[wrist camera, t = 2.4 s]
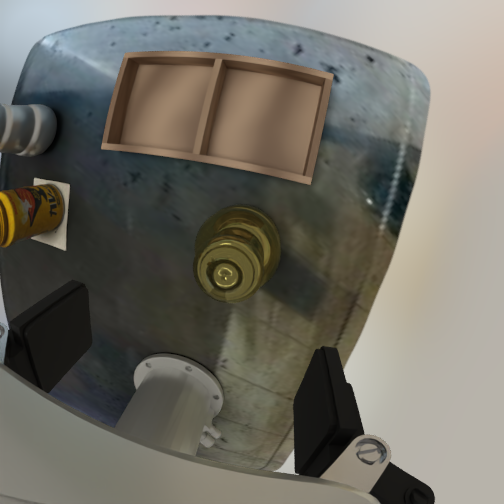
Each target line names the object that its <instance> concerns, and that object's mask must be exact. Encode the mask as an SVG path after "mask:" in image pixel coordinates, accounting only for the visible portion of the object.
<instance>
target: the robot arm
mask: <svg viewBox="0 0 504 504" xmlns="http://www.w3.org/2000/svg"><path fill="white" fill-rule="evenodd" d="M10 326H11V329H10V330H8V328H7V326H6V325H5V324H3V323H0V504H434V502H435V497H434V493H433V491H432V489H431V488H430V487H429V486H428V485H426V484H425V483H423V482H421V481H420V480H418V479H416V478H415V477H413V476H411V475H410V474H408V473H406V472H405V471H403V470H402V469H400V468H399V467H397V466H395V465H394V464H392V463H391V462H389V461H390V459H391V450H390V448H389V446H388V445H387V443H386V442H385V441H384V440H382V439H381V438H379V437H376V436H374V435H365V434H364V430H363V426H362V422H361V418H360V414H359V410H358V407H357V403H356V399H355V396H354V392H353V388H352V386H351V384H350V383H347V382H346V379H345V375H344V371H343V368H342V364H341V360H340V357H339V353H338V350H337V349H336V348H332V347H325V346H322V347H321V348H320V349H316V350H315V352H314V354H313V357H312V359H311V361H310V364H309V366H308V369H307V371H306V373H305V376H304V378H303V380H302V382H301V385H300V387H299V389H298V391H297V394H296V396H295V399H294V404H293V410H294V454H295V455H294V456H295V473H297V474H299V475H294V474H287V473H279V472H272V471H264V470H258V469H252V468H246V467H241V466H236V465H231V464H226V463H221V462H217V461H212V460H208V459H204V458H200V457H196V453H197V450H198V446H199V443H201V444H202V445H204V446H205V447H211V446H212V445H213V444H214V442H215V439H214V438H219V437H220V436H221V435H222V432H221V431H220V430H219V429H217V428H216V427H214V426H213V425H212V420H213V418H214V417H215V416H216V415H217V414H218V413H219V412H220V410H221V408H222V405H223V399H224V395H223V390H222V388H221V385H220V383H219V382H218V380H217V379H216V378H215V377H214V376H213V374H212V373H211V372H209V371H208V370H207V369H206V368H204V367H203V366H202V365H200V364H198V363H197V362H195V361H193V360H190V359H188V358H186V357H182V356H179V355H174V354H168V353H162V354H154V355H150V356H148V357H146V358H145V359H143V360H142V361H141V362H140V363H139V365H138V366H137V368H136V370H135V372H134V384H135V387H136V392H135V394H134V395H133V397H132V399H131V400H130V402H129V404H128V405H127V407H126V409H125V411H124V412H123V414H122V416H121V417H120V419H119V421H118V422H117V424H116V426H115V428H113V427H110V426H108V425H106V424H104V423H102V422H100V421H97V420H95V419H93V418H91V417H89V416H87V415H85V414H83V413H81V412H79V411H77V410H76V409H74V408H72V407H70V406H68V405H66V404H64V403H63V402H61V401H59V400H57V399H56V398H54V397H52V396H51V395H49V394H47V393H49V392H50V391H51V390H52V389H53V388H54V386H55V385H56V384H57V383H58V382H59V381H60V380H61V379H62V377H63V376H64V375H65V374H66V373H67V372H68V371H69V370H70V369H71V367H72V366H73V365H74V364H75V363H76V362H77V361H78V360H79V359H80V358H81V357H82V356H83V354H84V353H85V352H86V351H87V350H88V349H89V348H90V347H91V344H92V333H91V324H90V312H89V297H88V290H87V288H86V286H85V284H83V283H81V282H78V281H75V280H71V281H70V282H68V283H66V284H65V285H63V286H62V287H60V288H59V289H57V290H56V291H54V292H52V293H51V294H49V295H48V296H46V297H45V298H43V299H42V300H40V301H39V302H37V303H36V304H34V305H33V306H32V307H30V308H29V309H27V310H26V311H24V312H23V313H21V314H20V315H19V316H17V317H16V318H14V319H13V320H12V321H10ZM205 431H208V432H209V434H211V435H212V436H213V437H214V438H213V437H212V436H210V435H209V434H208V433H207V432H205Z"/></svg>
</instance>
